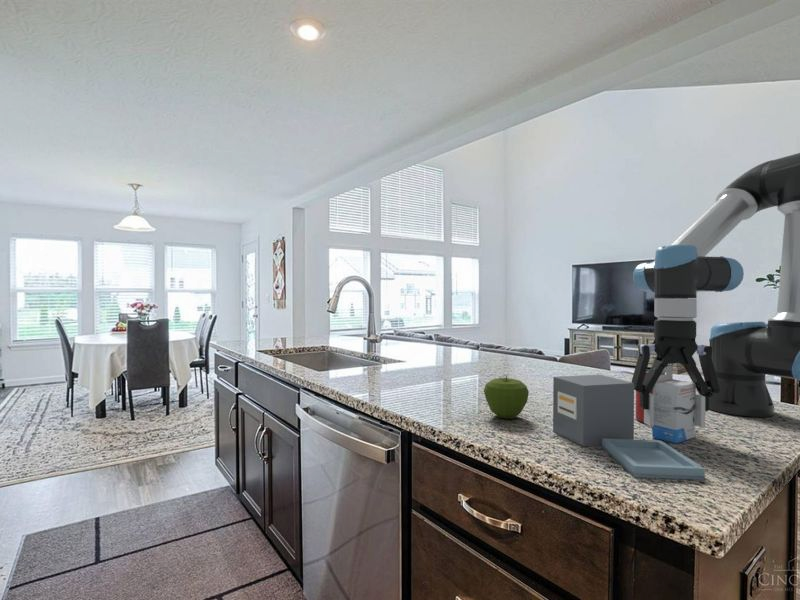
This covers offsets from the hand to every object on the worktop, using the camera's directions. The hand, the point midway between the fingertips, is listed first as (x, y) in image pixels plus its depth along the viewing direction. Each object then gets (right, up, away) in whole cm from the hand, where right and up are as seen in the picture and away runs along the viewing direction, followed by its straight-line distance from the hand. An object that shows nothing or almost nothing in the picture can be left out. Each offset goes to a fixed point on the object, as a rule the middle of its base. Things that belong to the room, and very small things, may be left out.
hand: (673, 425), depth 91 cm
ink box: (0, -3, 0) cm, 3 cm away
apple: (-32, -3, +15) cm, 35 cm away
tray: (-13, -3, -14) cm, 19 cm away
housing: (-17, -2, +1) cm, 17 cm away
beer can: (+2, -3, +12) cm, 12 cm away
